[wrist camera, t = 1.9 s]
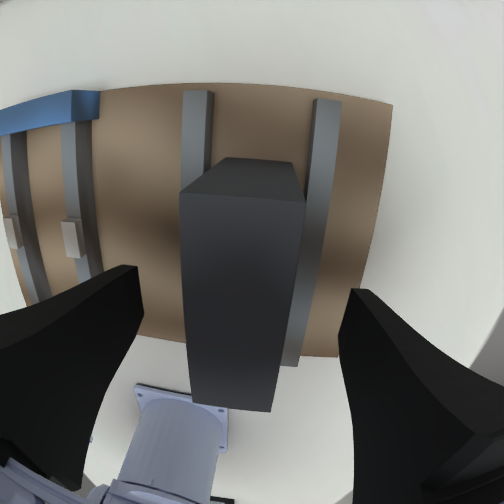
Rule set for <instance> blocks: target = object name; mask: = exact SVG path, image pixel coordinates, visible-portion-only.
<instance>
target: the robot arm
mask: <svg viewBox="0 0 504 504" xmlns="http://www.w3.org/2000/svg"><path fill="white" fill-rule="evenodd" d="M143 317H144V308H143V301H142V294H141V287H140V280H139V272H138V266H133V265H125V264H122V265H119V266H116V267H114V268H111V269H109V270H107V271H105V272H103V273H101V274H99V275H97V276H94V277H92V278H90V279H88V280H86V281H84V282H82V283H80V284H78V285H76V286H74V287H72V288H70V289H68V290H66V291H64V292H62V293H59V294H57V295H55V296H53V297H51V298H49V299H46V300H44V301H41V302H39V303H36V304H33V305H31V306H28V307H25V308H22V309H19V310H16V311H12V312H9V313H5V314H2V315H0V504H45V502H46V503H47V504H209V501H210V496H211V490H212V485H213V479H214V474H215V468H216V463H217V457H218V453H226V452H227V432H228V408H223V407H215V406H209V405H202V404H196V403H193V402H192V396H189V395H184V394H178V393H173V392H168V391H163V390H159V389H154V388H150V387H145V386H141V385H135V387H134V393H135V395H136V398H137V401H138V404H139V407H140V410H141V412H142V416H141V418H140V421H139V423H138V426H137V428H136V431H135V433H134V436H133V439H132V441H131V444H130V446H129V449H128V452H127V454H126V457H125V459H124V462H123V465H122V468H121V470H120V473H119V476H118V478H117V480H116V479H113V480H112V483H111V486H108V485H105V484H102V485H100V486H98V487H95V488H93V489H92V490H91V492H90V493H89V495H88V497H87V499H85V498H83V497H80V496H78V495H76V494H74V493H72V491H77V490H79V489H81V484H82V477H83V470H84V464H85V459H86V454H87V450H88V446H89V442H90V438H91V434H92V431H93V427H94V424H95V421H96V418H97V415H98V412H99V409H100V406H101V404H102V401H103V398H104V395H105V393H106V391H107V389H108V387H109V384H110V382H111V381H112V379H113V377H114V375H115V373H116V371H117V370H118V368H119V366H120V364H121V362H122V361H123V359H124V357H125V355H126V353H127V352H128V350H129V348H130V346H131V344H132V343H133V341H134V339H135V337H136V335H137V332H138V330H139V327H140V325H141V322H142V319H143ZM338 347H339V358H340V364H341V369H342V373H343V378H344V383H345V387H346V392H347V397H348V402H349V407H350V411H351V418H352V425H353V441H354V487H353V503H352V504H504V387H503V386H502V385H499V384H497V383H495V382H493V381H490V380H488V379H487V378H485V377H483V376H481V375H479V374H477V373H475V372H473V371H472V370H470V369H468V368H467V367H465V366H463V365H461V364H460V363H458V362H457V361H455V360H454V359H452V358H451V357H449V356H448V355H446V354H445V353H444V352H442V351H441V350H439V349H438V348H436V347H435V346H434V345H433V344H431V343H430V342H429V341H427V340H426V339H425V338H424V337H423V336H421V335H420V334H419V333H418V332H417V331H415V330H414V329H413V328H412V327H411V326H410V325H408V324H407V323H406V322H405V321H404V320H403V319H402V318H401V317H400V316H398V315H397V314H396V313H395V312H394V311H393V310H392V309H391V308H390V307H389V306H388V305H386V304H385V303H384V302H383V301H382V300H381V299H380V298H379V297H378V296H376V295H375V294H374V293H373V292H371V291H370V290H369V289H360V288H351V291H350V294H349V298H348V302H347V305H346V309H345V312H344V316H343V319H342V322H341V326H340V329H339V332H338ZM40 475H41V476H40ZM43 477H44V478H43ZM45 478H46V479H45ZM47 479H48V480H50V481H52V482H54V483H56V484H57V485H56V484H54V483H52V482H50V481H48V480H47ZM58 485H59V486H58ZM60 486H61V487H60ZM62 487H64V488H65V489H64V488H62ZM66 489H68V490H69V491H68V490H66ZM70 491H71V492H70Z"/></svg>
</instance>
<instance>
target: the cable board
mask: <svg viewBox="0 0 504 504" xmlns="http://www.w3.org/2000/svg"><path fill="white" fill-rule="evenodd" d="M392 110H393V105H391V104H387V103H382V102H378V101H374V100H369V99H364V98H359V97H354V96H349V95H343V94H338V93H332V92H325V91H318V90H311V89H303V88H294V87H285V86H274V85H260V84H241V83H182V84H163V85H149V86H139V87H129V88H121V89H113V90H106V91H86V90H69V91H65V92H60V93H56V94H52V95H48V96H44V97H41V98H37V99H33V100H30V101H27V102H23V103H20V104H17V105H14V106H11V107H8V108H5V109H2V110H0V201H1V207H2V213H3V221H4V226H5V231H6V236H7V241H8V245H9V248H10V251H11V256H12V259H13V263H14V267H15V270H16V274H17V277H18V281H19V284H20V287H21V290H22V293H23V296H24V299H25V302H26V305H27V307H28V306H31V305H33V304H36V303H39V302H41V301H44V300H46V299H49V298H51V297H53V296H55V295H57V294H59V293H62V292H64V291H66V290H68V289H70V288H72V287H74V286H76V285H78V284H80V283H82V282H84V281H86V280H88V279H90V278H92V277H94V276H97V275H99V274H101V273H103V272H105V271H107V270H109V269H111V268H114V267H116V266H119V265H122V264H125V265H133V266H138V272H139V280H140V287H141V294H142V301H143V308H144V317H143V319H142V322H141V325H140V327H139V330H138V332H137V335H142V336H147V337H153V338H158V339H164V340H169V341H175V342H181V343H186V337H185V325H184V312H183V297H182V280H181V259H180V228H179V192H181V191H182V190H183V189H184V188H186V187H187V186H188V185H189V184H191V183H192V182H193V181H195V180H196V179H197V178H199V177H200V176H201V175H202V174H204V173H205V172H206V171H208V170H209V169H210V168H212V167H213V166H214V165H216V164H217V163H219V162H220V161H221V160H223V159H224V158H225V157H235V158H249V159H262V160H273V161H284V162H292V164H293V167H294V170H295V173H296V175H297V178H298V181H299V184H300V187H301V190H302V193H303V195H304V198H305V201H306V208H305V215H304V223H303V230H302V237H301V244H300V251H299V258H298V264H297V271H296V277H295V284H294V290H293V296H292V302H291V308H290V314H289V319H288V325H287V331H286V336H285V342H284V347H283V352H282V358H281V363H280V366H290V367H297V366H298V362H299V358H300V356H314V357H338V355H339V347H338V332H339V329H340V326H341V322H342V319H343V316H344V312H345V309H346V305H347V302H348V298H349V294H350V291H351V288H360V284H361V280H362V276H363V273H364V269H365V265H366V261H367V257H368V253H369V248H370V244H371V240H372V235H373V231H374V226H375V221H376V217H377V212H378V206H379V201H380V196H381V190H382V185H383V179H384V173H385V166H386V160H387V153H388V145H389V137H390V129H391V120H392Z"/></svg>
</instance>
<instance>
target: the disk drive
mask: <svg viewBox="0 0 504 504" xmlns="http://www.w3.org/2000/svg"><path fill="white" fill-rule="evenodd" d="M209 504H234V499H228V498H221V497H214V496H210V501H209Z"/></svg>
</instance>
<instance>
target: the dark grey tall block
mask: <svg viewBox="0 0 504 504" xmlns="http://www.w3.org/2000/svg"><path fill="white" fill-rule="evenodd" d="M305 208H306V201H305V198H304V195H303V193H302V190H301V187H300V184H299V181H298V178H297V175H296V173H295V170H294V167H293V164H292V162H284V161H273V160H262V159H249V158H235V157H225V158H224V159H223V160H221V161H220V162H219V163H217V164H216V165H214V166H213V167H212V168H210V169H209V170H208V171H206V172H205V173H204V174H202V175H201V176H200V177H199V178H197V179H196V180H195V181H193V182H192V183H191V184H189V185H188V186H187V187H186V188H184V189H183V190H182V191H181V192H179V228H180V259H181V280H182V297H183V312H184V325H185V337H186V348H187V358H188V368H189V377H190V386H191V394H192V402H193V403H196V404H202V405H209V406H215V407H223V408H230V409H239V410H248V411H258V412H271V407H272V403H273V398H274V393H275V388H276V383H277V378H278V373H279V368H280V363H281V358H282V352H283V347H284V342H285V336H286V331H287V325H288V319H289V314H290V308H291V302H292V296H293V290H294V284H295V277H296V271H297V264H298V258H299V251H300V244H301V237H302V230H303V223H304V215H305Z"/></svg>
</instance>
